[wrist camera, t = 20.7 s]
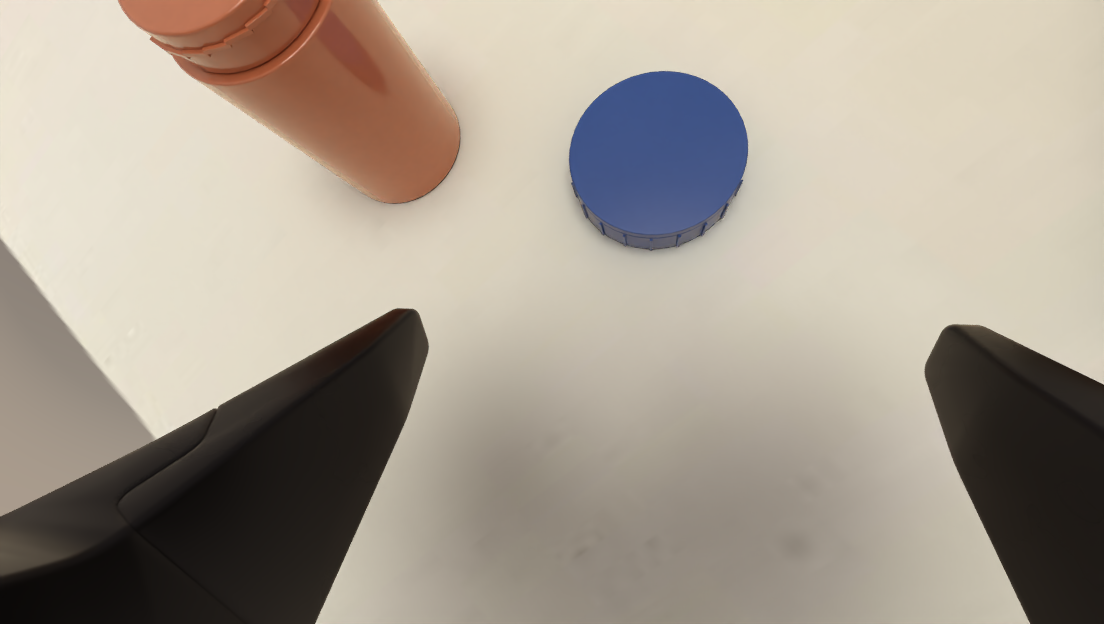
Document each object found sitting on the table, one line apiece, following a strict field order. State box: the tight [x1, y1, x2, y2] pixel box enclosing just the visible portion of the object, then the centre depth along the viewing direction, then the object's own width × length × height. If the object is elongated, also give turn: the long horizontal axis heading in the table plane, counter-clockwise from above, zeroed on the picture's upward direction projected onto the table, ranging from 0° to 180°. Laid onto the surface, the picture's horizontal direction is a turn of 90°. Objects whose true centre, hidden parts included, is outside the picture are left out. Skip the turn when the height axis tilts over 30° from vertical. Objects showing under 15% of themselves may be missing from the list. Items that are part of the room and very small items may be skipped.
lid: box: [569, 71, 748, 250], centre depth 19 cm, size 7×7×2 cm
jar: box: [118, 0, 460, 203], centre depth 17 cm, size 6×6×11 cm
